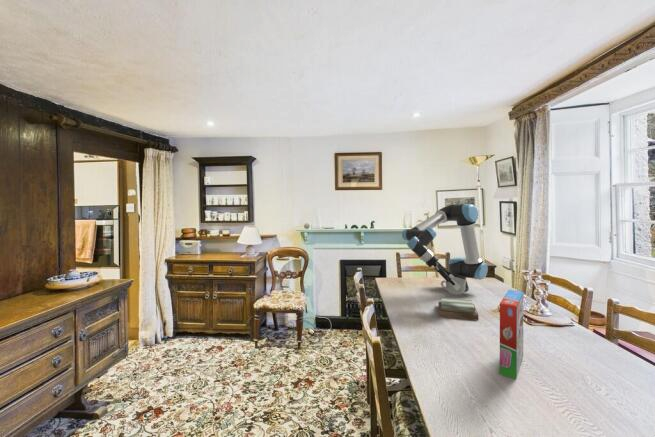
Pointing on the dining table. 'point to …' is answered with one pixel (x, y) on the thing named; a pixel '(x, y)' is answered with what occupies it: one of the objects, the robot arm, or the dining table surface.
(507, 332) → the game box
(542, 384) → the dining table surface
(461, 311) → the block stand
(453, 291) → the teacup
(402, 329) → the dining table surface
